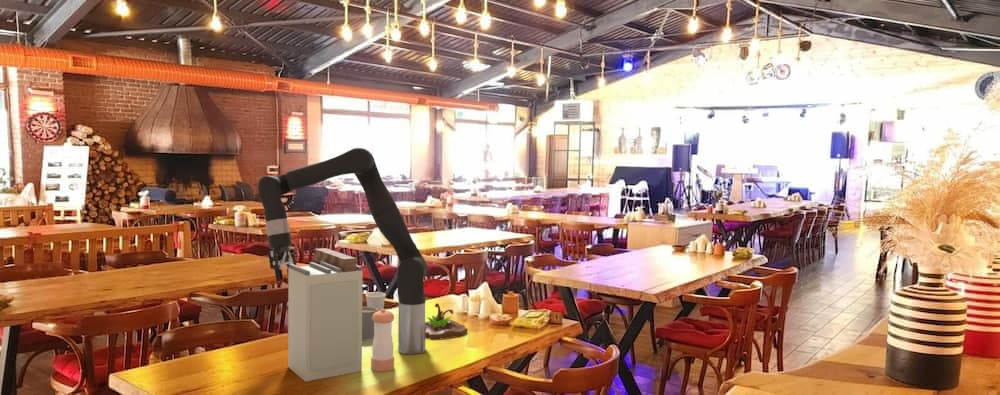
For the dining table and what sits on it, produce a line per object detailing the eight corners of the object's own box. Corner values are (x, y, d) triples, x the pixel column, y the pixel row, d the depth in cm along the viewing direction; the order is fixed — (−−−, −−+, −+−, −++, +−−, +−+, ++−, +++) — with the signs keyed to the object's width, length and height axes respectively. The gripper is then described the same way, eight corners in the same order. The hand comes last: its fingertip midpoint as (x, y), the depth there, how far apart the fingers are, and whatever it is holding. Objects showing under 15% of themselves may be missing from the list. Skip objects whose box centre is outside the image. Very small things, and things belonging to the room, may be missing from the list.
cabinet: (288, 367, 206) (288, 263, 204) (341, 357, 216) (342, 259, 214) (306, 382, 192) (306, 271, 190) (362, 371, 203) (363, 267, 201)
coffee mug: (381, 337, 242) (381, 310, 242) (355, 340, 237) (355, 313, 237) (369, 328, 254) (369, 303, 253) (344, 331, 249) (344, 306, 248)
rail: (314, 260, 219) (314, 248, 219) (325, 259, 221) (325, 248, 221) (344, 272, 198) (344, 259, 198) (356, 271, 200) (356, 258, 200)
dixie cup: (375, 321, 266) (375, 297, 265) (361, 318, 270) (361, 294, 270) (389, 317, 273) (389, 293, 272) (375, 314, 277) (375, 291, 277)
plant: (451, 323, 266) (451, 297, 265) (473, 335, 249) (474, 306, 248) (405, 329, 255) (406, 301, 255) (426, 342, 239) (426, 312, 238)
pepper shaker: (373, 363, 211) (374, 306, 209) (396, 364, 210) (396, 306, 209) (368, 371, 203) (369, 311, 202) (391, 371, 203) (392, 311, 202)
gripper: (278, 231, 214) (286, 280, 212) (298, 231, 228) (305, 276, 227) (257, 235, 215) (265, 283, 213) (278, 234, 229) (285, 280, 228)
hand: (286, 280), depth 220 cm, fingers open, 8 cm apart
